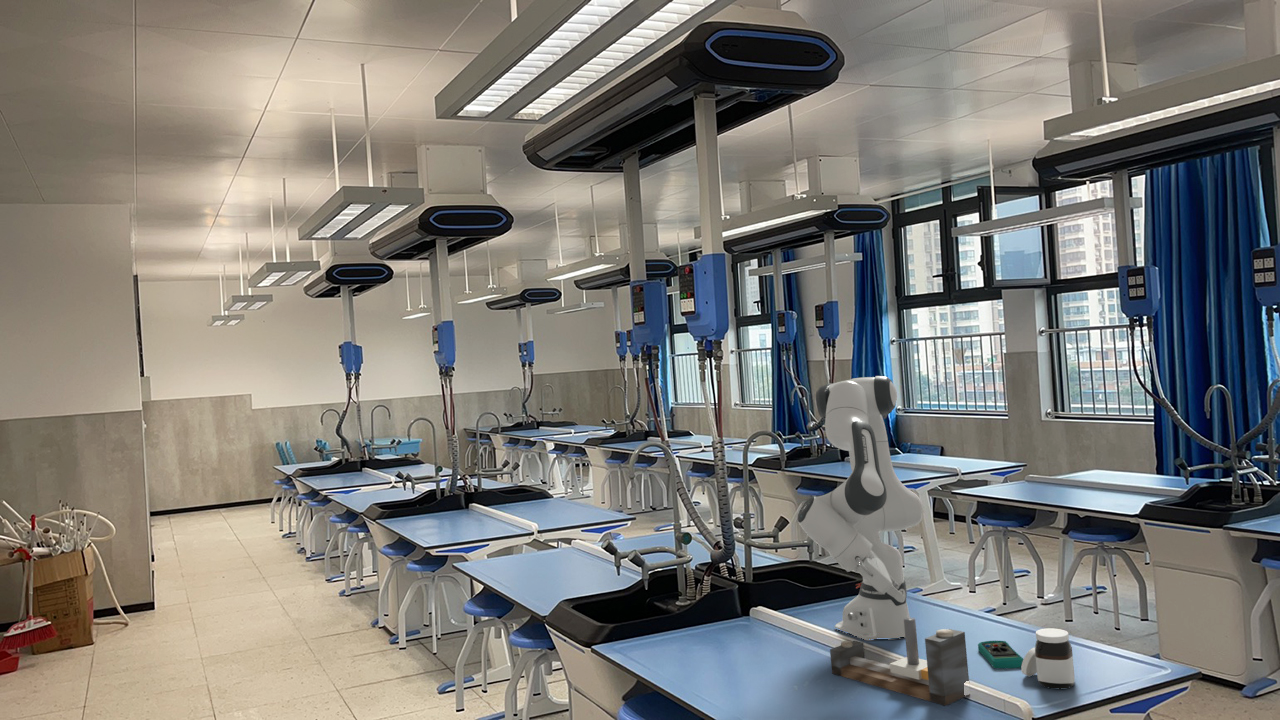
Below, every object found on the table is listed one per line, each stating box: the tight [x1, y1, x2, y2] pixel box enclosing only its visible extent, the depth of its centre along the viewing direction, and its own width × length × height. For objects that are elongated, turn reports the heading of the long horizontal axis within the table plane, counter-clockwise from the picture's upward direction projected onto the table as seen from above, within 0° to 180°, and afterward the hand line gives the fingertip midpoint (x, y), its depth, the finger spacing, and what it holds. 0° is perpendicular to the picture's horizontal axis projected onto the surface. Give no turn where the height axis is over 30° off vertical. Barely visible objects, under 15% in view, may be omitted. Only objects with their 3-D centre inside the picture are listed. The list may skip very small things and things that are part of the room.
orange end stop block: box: [921, 667, 929, 680], centre depth 211 cm, size 3×5×2 cm, turn 126°
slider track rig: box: [829, 628, 970, 707], centre depth 220 cm, size 33×9×15 cm, turn 36°
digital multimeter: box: [977, 640, 1024, 670], centre depth 231 cm, size 7×15×3 cm, turn 175°
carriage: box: [889, 617, 927, 680], centre depth 216 cm, size 8×7×12 cm
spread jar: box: [1021, 627, 1076, 690], centre depth 213 cm, size 12×11×12 cm
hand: (899, 593), depth 220 cm, fingers open, 8 cm apart
